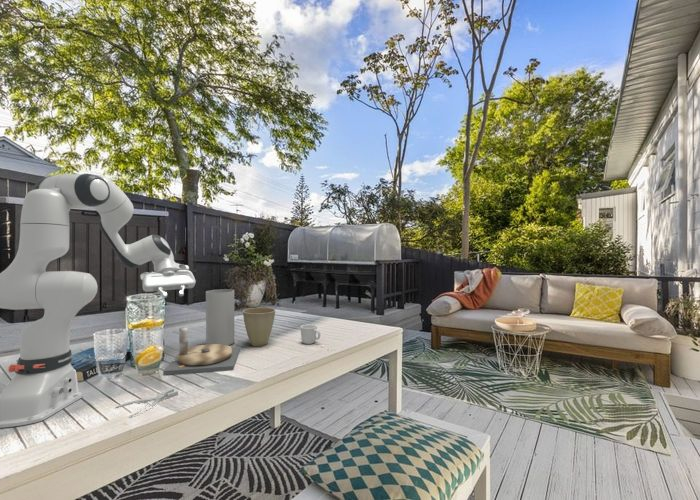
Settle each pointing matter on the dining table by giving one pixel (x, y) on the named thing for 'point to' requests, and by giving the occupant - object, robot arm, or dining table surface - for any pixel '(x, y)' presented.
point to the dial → (201, 351)
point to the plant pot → (258, 324)
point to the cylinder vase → (220, 317)
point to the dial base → (219, 366)
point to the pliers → (160, 397)
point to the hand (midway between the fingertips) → (173, 296)
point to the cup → (309, 333)
